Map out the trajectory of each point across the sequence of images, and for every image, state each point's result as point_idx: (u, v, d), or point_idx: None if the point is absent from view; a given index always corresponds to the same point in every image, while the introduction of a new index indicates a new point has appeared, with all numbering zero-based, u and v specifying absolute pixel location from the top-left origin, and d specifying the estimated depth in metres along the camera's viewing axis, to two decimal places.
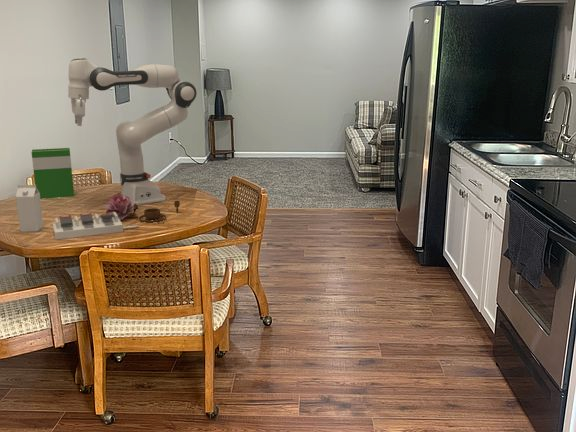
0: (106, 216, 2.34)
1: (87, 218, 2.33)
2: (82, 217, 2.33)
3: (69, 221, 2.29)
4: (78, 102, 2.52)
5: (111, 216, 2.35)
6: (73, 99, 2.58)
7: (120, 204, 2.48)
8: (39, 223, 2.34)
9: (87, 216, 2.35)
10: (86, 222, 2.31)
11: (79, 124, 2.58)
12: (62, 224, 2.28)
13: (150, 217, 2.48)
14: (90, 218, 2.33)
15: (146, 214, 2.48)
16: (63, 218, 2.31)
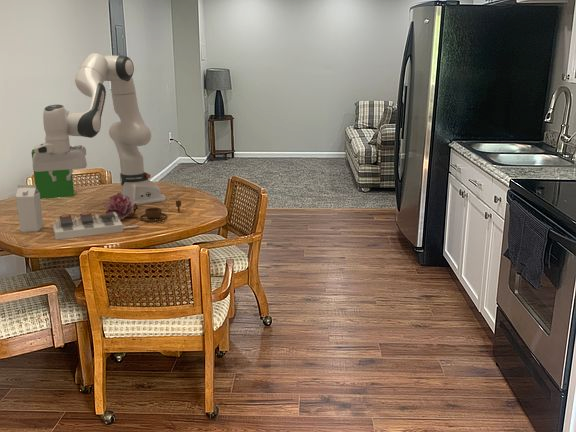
0: (106, 216, 2.34)
1: (87, 218, 2.33)
2: (82, 217, 2.33)
3: (69, 221, 2.29)
4: (83, 153, 2.29)
5: (111, 216, 2.35)
6: (64, 153, 2.24)
7: (120, 204, 2.48)
8: (39, 223, 2.34)
9: (87, 216, 2.35)
10: (86, 222, 2.31)
11: (70, 178, 2.30)
12: (62, 224, 2.28)
13: (151, 216, 2.49)
14: (90, 218, 2.33)
15: (147, 213, 2.49)
16: (63, 218, 2.31)
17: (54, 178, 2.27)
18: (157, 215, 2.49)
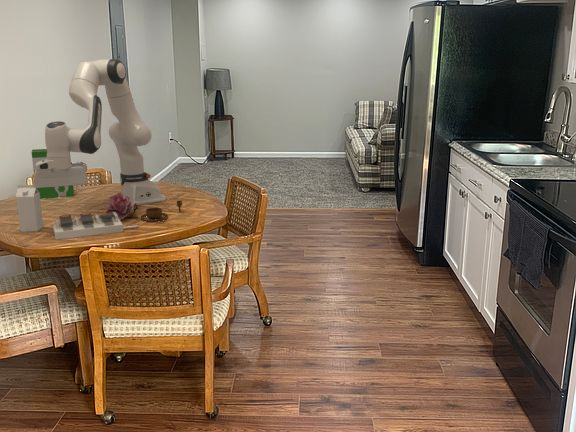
0: (106, 216, 2.34)
1: (87, 218, 2.33)
2: (82, 217, 2.33)
3: (69, 221, 2.29)
4: (84, 169, 2.31)
5: (111, 216, 2.35)
6: (65, 169, 2.26)
7: (120, 204, 2.48)
8: (39, 223, 2.34)
9: (87, 216, 2.35)
10: (86, 222, 2.31)
11: None
12: (62, 224, 2.28)
13: (151, 216, 2.49)
14: (90, 218, 2.33)
15: (148, 213, 2.49)
16: (63, 218, 2.31)
17: (60, 194, 2.29)
18: (158, 215, 2.50)
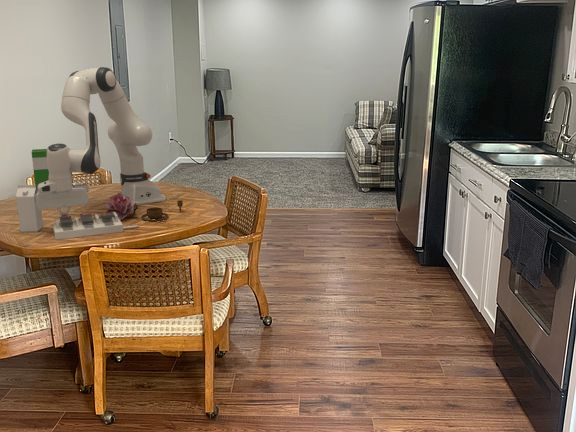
0: (106, 216, 2.34)
1: (87, 218, 2.33)
2: (82, 217, 2.33)
3: (69, 220, 2.29)
4: (86, 190, 2.34)
5: (111, 216, 2.35)
6: (67, 190, 2.29)
7: (120, 204, 2.48)
8: (39, 223, 2.34)
9: (87, 216, 2.35)
10: (86, 222, 2.31)
11: None
12: (62, 223, 2.27)
13: (152, 216, 2.49)
14: (90, 218, 2.33)
15: (148, 213, 2.50)
16: (63, 218, 2.31)
17: (62, 214, 2.33)
18: (158, 215, 2.50)
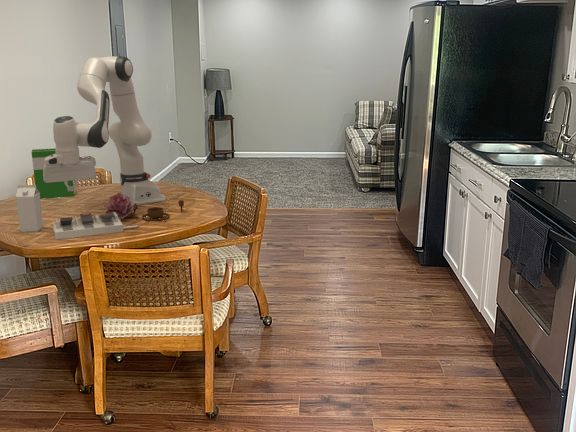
0: (106, 216, 2.34)
1: (87, 218, 2.33)
2: (82, 217, 2.33)
3: None
4: (93, 163, 2.32)
5: (111, 216, 2.35)
6: (74, 163, 2.27)
7: (120, 204, 2.48)
8: (39, 223, 2.34)
9: (87, 216, 2.35)
10: (86, 222, 2.31)
11: None
12: (61, 219, 2.27)
13: (153, 216, 2.50)
14: (90, 218, 2.33)
15: (149, 213, 2.50)
16: None
17: (69, 188, 2.30)
18: (159, 215, 2.50)
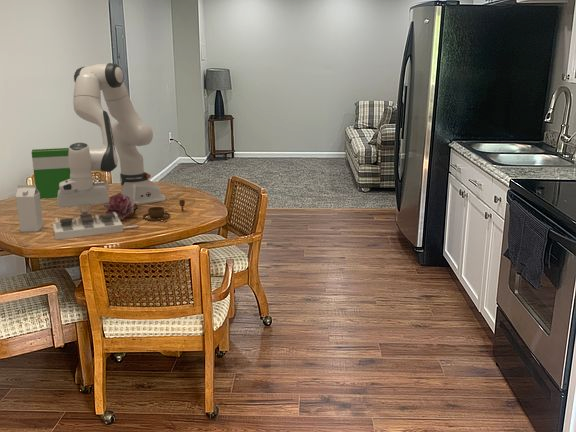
0: (106, 216, 2.34)
1: (87, 218, 2.33)
2: (82, 217, 2.34)
3: (69, 218, 2.29)
4: (106, 188, 2.37)
5: (111, 216, 2.35)
6: (88, 189, 2.33)
7: (120, 204, 2.48)
8: (39, 223, 2.34)
9: (87, 216, 2.35)
10: (86, 221, 2.31)
11: None
12: (62, 220, 2.27)
13: (154, 215, 2.50)
14: (90, 218, 2.33)
15: (150, 212, 2.51)
16: None
17: (83, 212, 2.36)
18: (160, 214, 2.51)
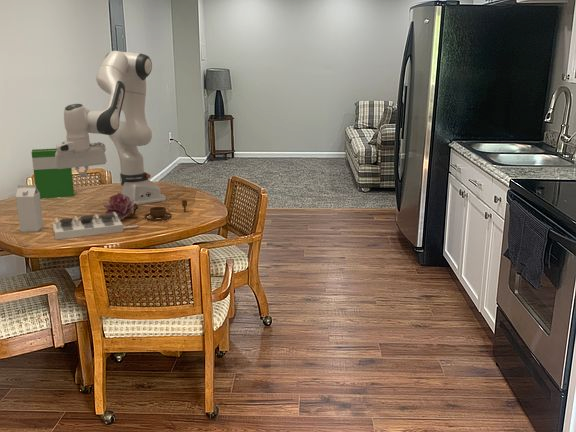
0: (106, 216, 2.34)
1: None
2: None
3: None
4: (103, 149, 2.38)
5: (111, 216, 2.35)
6: (85, 150, 2.34)
7: (120, 204, 2.48)
8: (39, 223, 2.34)
9: None
10: (85, 217, 2.31)
11: None
12: (62, 220, 2.27)
13: (155, 215, 2.51)
14: None
15: (151, 212, 2.51)
16: None
17: (81, 174, 2.37)
18: (161, 214, 2.51)
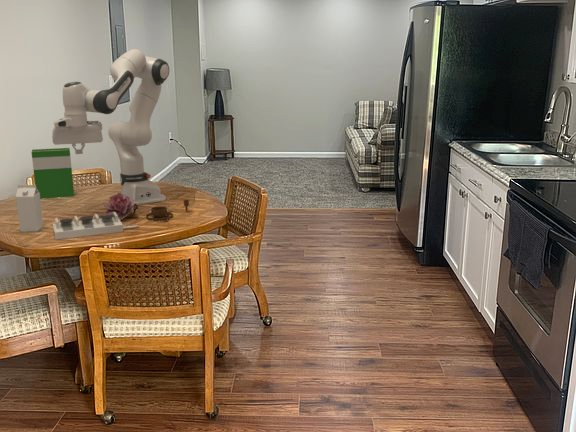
0: (106, 216, 2.34)
1: None
2: None
3: None
4: (99, 127, 2.44)
5: (111, 216, 2.35)
6: (82, 127, 2.39)
7: (120, 204, 2.48)
8: (39, 223, 2.34)
9: (87, 216, 2.35)
10: (86, 218, 2.31)
11: (82, 152, 2.44)
12: (62, 220, 2.27)
13: (156, 215, 2.51)
14: None
15: (152, 212, 2.51)
16: (63, 219, 2.31)
17: (77, 151, 2.42)
18: (162, 214, 2.51)
